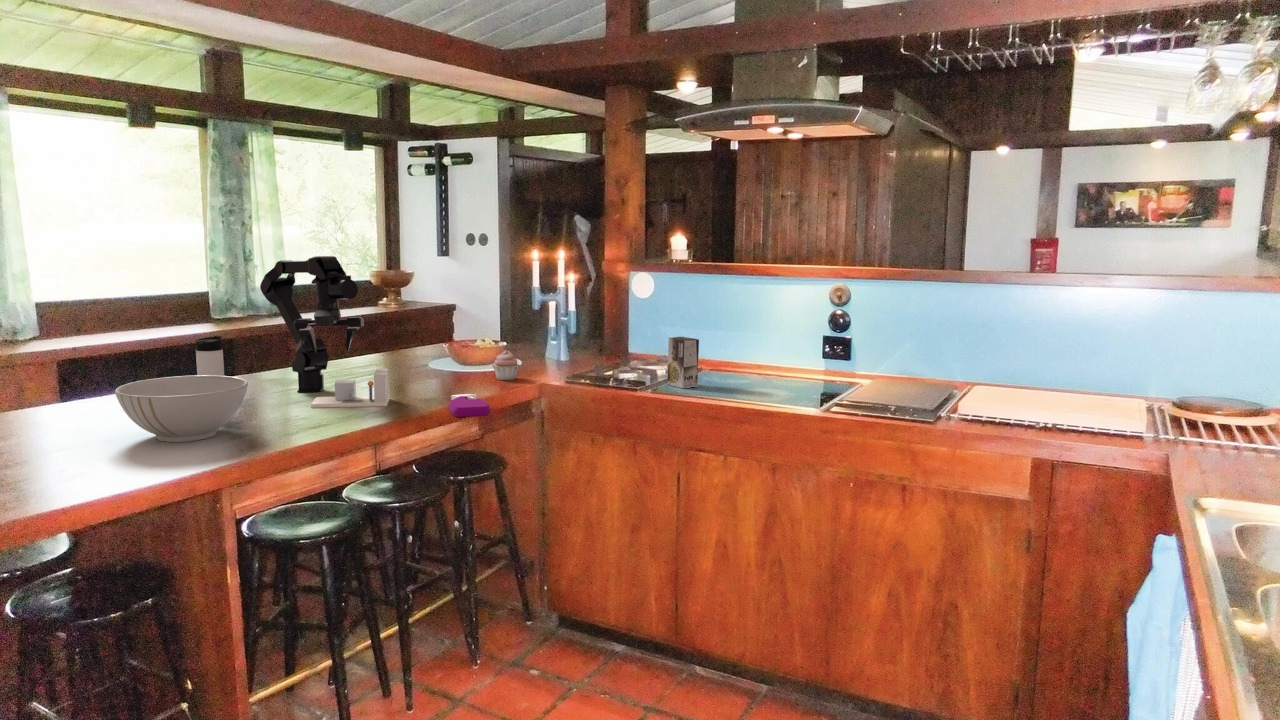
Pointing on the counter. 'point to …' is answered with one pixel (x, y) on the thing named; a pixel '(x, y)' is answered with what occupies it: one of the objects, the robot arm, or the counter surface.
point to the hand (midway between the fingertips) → (331, 352)
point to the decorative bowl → (182, 405)
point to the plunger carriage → (345, 389)
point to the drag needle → (370, 389)
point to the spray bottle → (468, 406)
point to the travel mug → (210, 356)
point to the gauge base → (360, 401)
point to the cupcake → (506, 366)
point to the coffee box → (683, 362)
